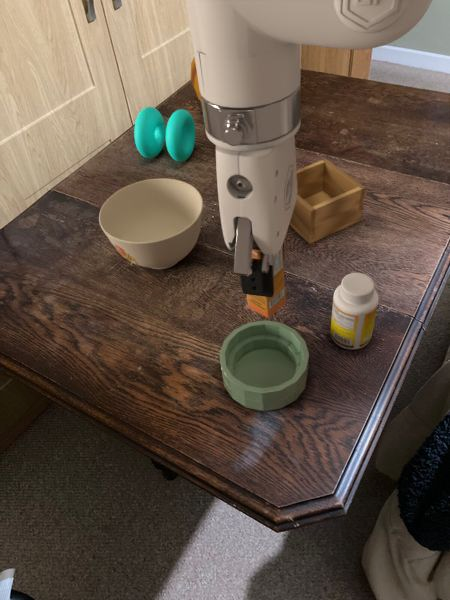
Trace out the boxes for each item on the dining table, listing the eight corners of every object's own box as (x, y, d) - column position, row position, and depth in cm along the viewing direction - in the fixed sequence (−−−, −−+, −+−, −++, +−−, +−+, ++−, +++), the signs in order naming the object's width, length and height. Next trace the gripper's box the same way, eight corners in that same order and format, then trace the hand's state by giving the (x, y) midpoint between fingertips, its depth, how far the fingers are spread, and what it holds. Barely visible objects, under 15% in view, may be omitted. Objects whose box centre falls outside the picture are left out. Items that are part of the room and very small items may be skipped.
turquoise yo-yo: (182, 172, 99) (174, 125, 92) (138, 166, 102) (127, 121, 95) (200, 145, 105) (193, 100, 98) (157, 141, 108) (148, 97, 101)
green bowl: (277, 329, 70) (276, 308, 66) (324, 385, 63) (326, 365, 59) (208, 363, 67) (204, 343, 63) (250, 426, 60) (248, 408, 57)
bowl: (105, 244, 86) (88, 196, 78) (190, 215, 89) (182, 167, 82) (130, 304, 76) (113, 256, 68) (225, 269, 79) (219, 220, 71)
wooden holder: (323, 191, 90) (325, 158, 85) (361, 220, 84) (365, 187, 79) (274, 211, 88) (274, 179, 83) (309, 244, 81) (311, 211, 76)
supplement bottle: (367, 318, 69) (376, 266, 62) (374, 350, 66) (386, 298, 58) (327, 320, 70) (331, 269, 62) (332, 352, 66) (338, 301, 59)
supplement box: (244, 308, 55) (236, 238, 47) (264, 290, 56) (259, 220, 49) (267, 322, 53) (263, 252, 46) (287, 303, 55) (286, 232, 47)
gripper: (276, 173, 32) (283, 345, 45) (317, 62, 42) (313, 228, 56) (168, 166, 34) (205, 333, 47) (233, 62, 44) (249, 222, 58)
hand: (263, 275), depth 51 cm, fingers closed on supplement box, 4 cm apart
